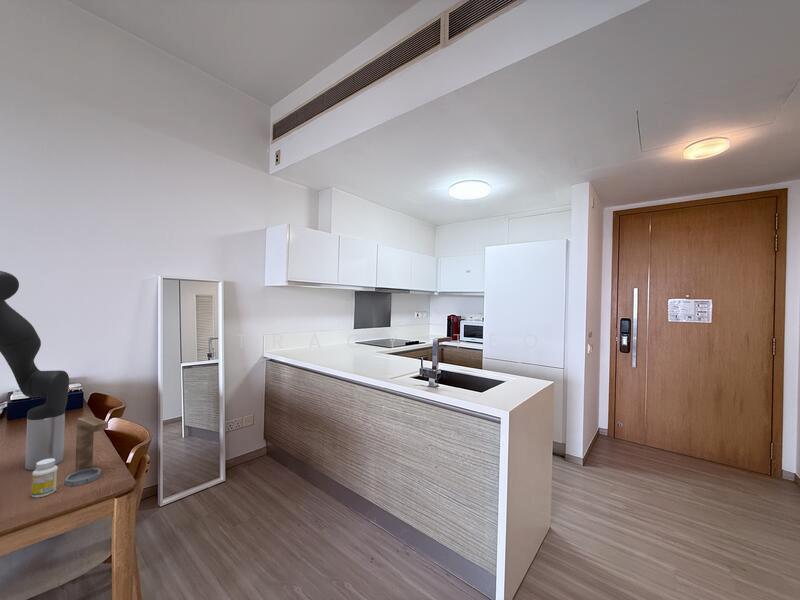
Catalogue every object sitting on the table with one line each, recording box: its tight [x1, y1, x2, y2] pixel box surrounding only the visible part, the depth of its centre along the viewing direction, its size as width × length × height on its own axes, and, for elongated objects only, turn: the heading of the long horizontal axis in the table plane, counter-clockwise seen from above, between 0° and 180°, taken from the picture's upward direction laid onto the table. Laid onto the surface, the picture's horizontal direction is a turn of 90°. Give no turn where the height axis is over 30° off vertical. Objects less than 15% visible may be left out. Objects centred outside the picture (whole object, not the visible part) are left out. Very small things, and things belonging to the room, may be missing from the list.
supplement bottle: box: [31, 458, 59, 498], centre depth 100 cm, size 5×5×10 cm
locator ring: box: [64, 467, 102, 487], centre depth 108 cm, size 8×8×2 cm
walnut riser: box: [74, 415, 109, 472], centre depth 111 cm, size 4×13×18 cm, turn 63°
